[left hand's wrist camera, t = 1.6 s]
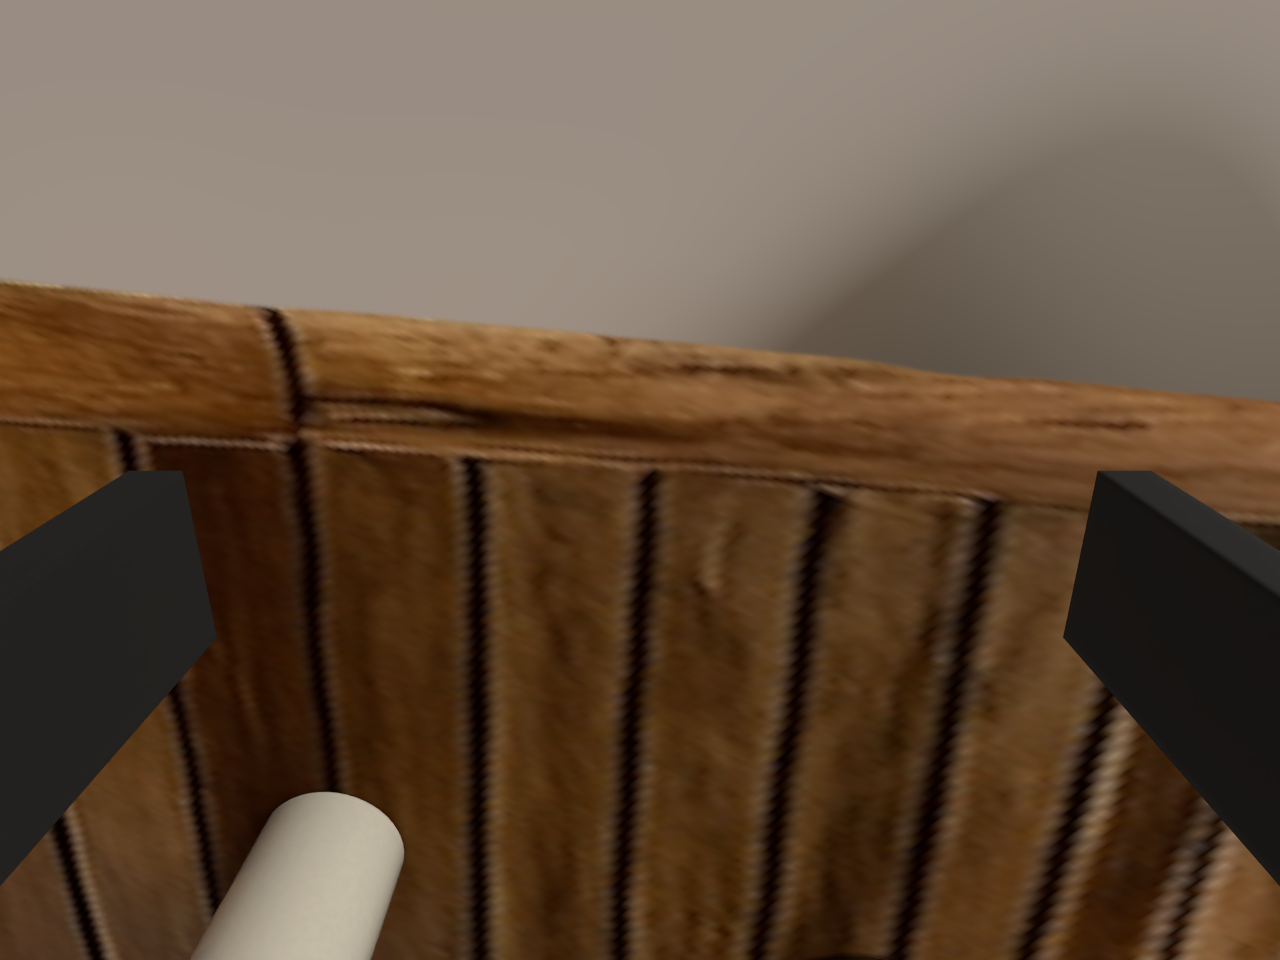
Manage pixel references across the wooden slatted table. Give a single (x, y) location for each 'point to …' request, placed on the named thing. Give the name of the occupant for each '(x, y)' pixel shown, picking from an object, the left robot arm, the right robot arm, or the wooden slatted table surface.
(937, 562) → the wooden slatted table surface
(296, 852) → the jar
